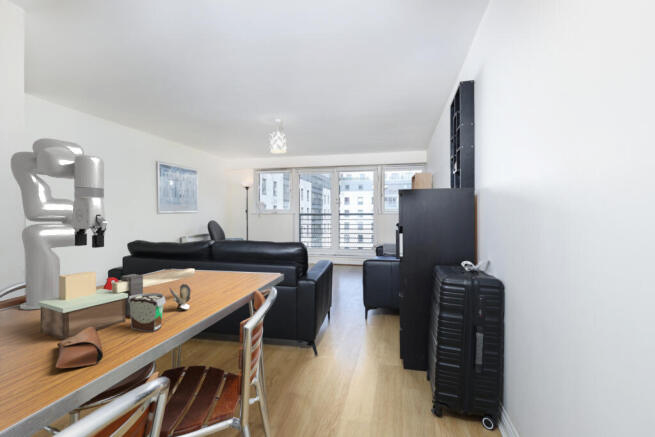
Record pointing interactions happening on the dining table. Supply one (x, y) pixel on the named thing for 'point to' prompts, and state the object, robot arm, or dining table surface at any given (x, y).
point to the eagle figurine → (182, 297)
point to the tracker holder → (110, 283)
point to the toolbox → (90, 314)
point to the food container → (146, 311)
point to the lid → (79, 293)
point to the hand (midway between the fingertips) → (89, 246)
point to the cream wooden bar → (155, 279)
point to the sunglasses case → (80, 350)
